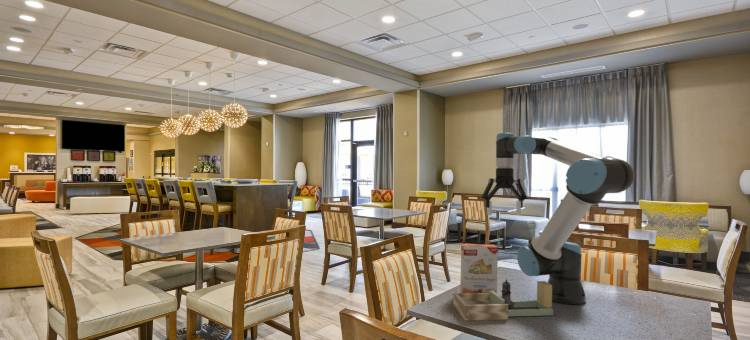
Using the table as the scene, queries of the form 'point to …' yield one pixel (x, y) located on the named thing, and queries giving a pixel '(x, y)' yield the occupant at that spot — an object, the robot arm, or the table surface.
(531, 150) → the robot arm
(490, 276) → the cracker box
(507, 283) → the chess piece
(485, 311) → the frame
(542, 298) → the tray
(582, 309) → the table surface
